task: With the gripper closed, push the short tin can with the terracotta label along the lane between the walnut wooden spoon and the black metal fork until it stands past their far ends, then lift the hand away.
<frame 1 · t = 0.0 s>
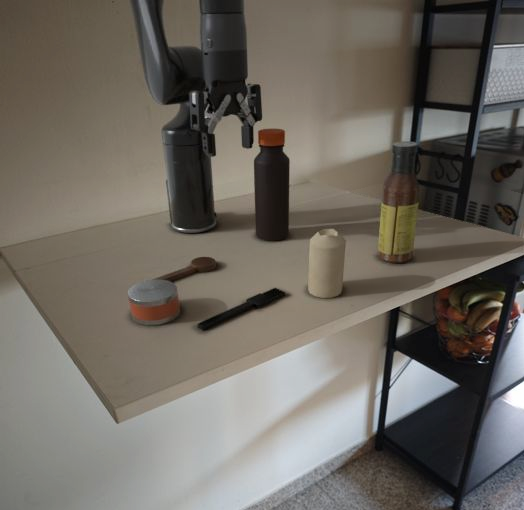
hand: (229, 151, 90), 17 cm above the table, tool pointing down, fingers open, 8 cm apart
candle: (324, 291, 81), on the table
fork: (247, 308, 77), on the table
spoon: (183, 274, 87), on the table
tin can: (156, 313, 76), on the table
vinegar: (272, 236, 102), on the table
sauce bottle: (393, 258, 92), on the table
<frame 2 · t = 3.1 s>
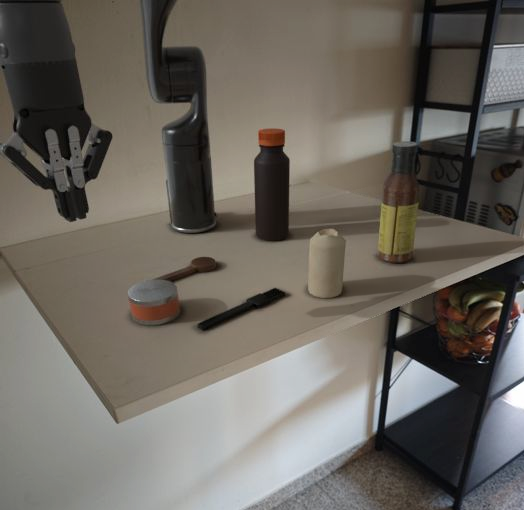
hand: (75, 218, 61), 17 cm above the table, tool pointing down, fingers closed
nothing on the table moved.
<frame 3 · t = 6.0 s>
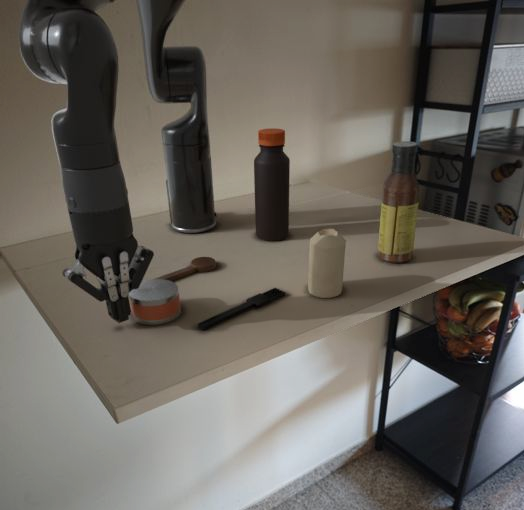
hand: (120, 319, 72), 1 cm above the table, tool pointing down, fingers closed
tin can: (157, 313, 76), on the table, touching gripper
everything else where it was.
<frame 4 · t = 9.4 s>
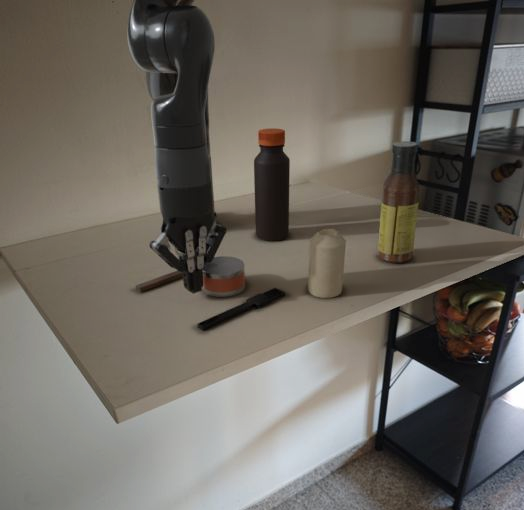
hand: (194, 290, 79), 1 cm above the table, tool pointing down, fingers closed
tin can: (223, 287, 83), on the table, touching gripper
everything else where it was.
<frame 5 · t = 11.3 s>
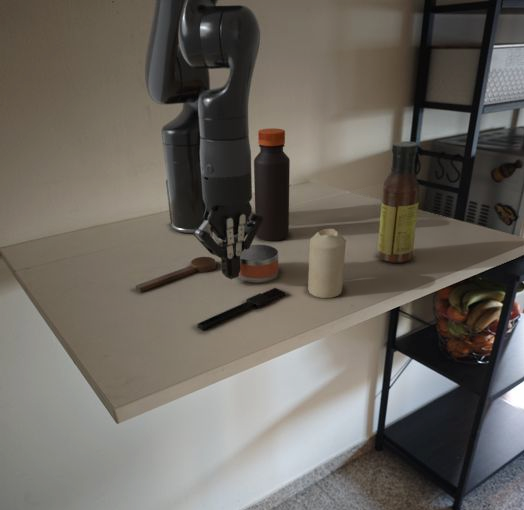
hand: (231, 276, 83), 1 cm above the table, tool pointing down, fingers closed
tin can: (257, 273, 87), on the table, touching gripper
everything else where it was.
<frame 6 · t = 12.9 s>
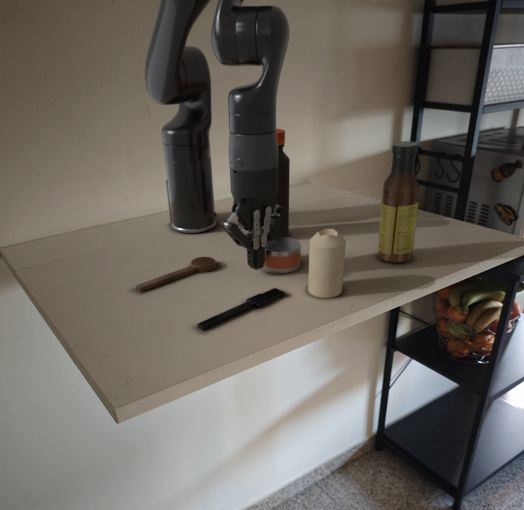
hand: (256, 267, 86), 1 cm above the table, tool pointing down, fingers closed
tin can: (280, 265, 90), on the table, touching gripper
everything else where it was.
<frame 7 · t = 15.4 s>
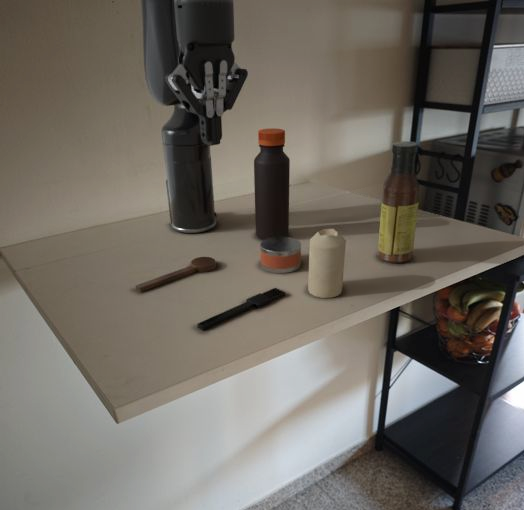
hand: (211, 144, 73), 22 cm above the table, tool pointing down, fingers closed
tin can: (280, 264, 90), on the table
everything else where it was.
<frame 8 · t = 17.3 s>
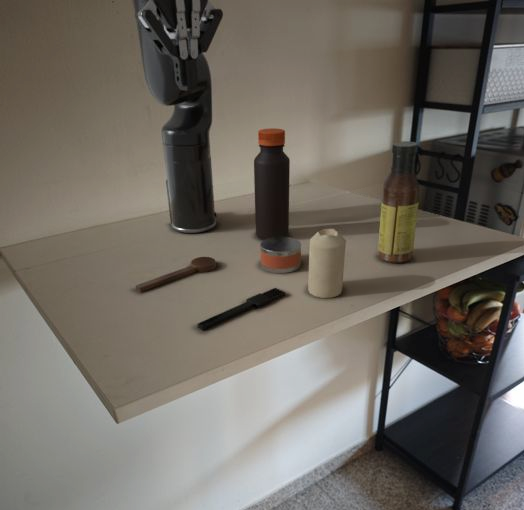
hand: (187, 89, 70), 29 cm above the table, tool pointing down, fingers closed
nothing on the table moved.
at the end: tin can inside the target area (1.0 cm from its centre), on the table; spoon moved 0.0 cm from its start; fork moved 0.0 cm from its start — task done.
